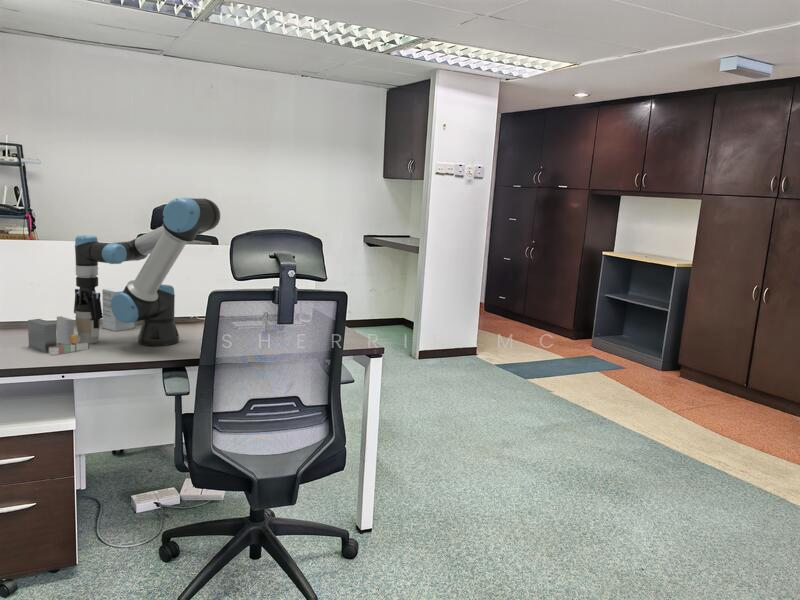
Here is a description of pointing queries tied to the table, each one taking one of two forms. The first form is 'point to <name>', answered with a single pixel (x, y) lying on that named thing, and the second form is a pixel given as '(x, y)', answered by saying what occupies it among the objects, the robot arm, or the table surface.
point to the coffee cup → (84, 323)
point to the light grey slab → (65, 330)
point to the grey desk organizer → (49, 338)
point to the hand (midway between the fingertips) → (88, 334)
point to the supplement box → (108, 317)
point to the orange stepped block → (73, 339)
